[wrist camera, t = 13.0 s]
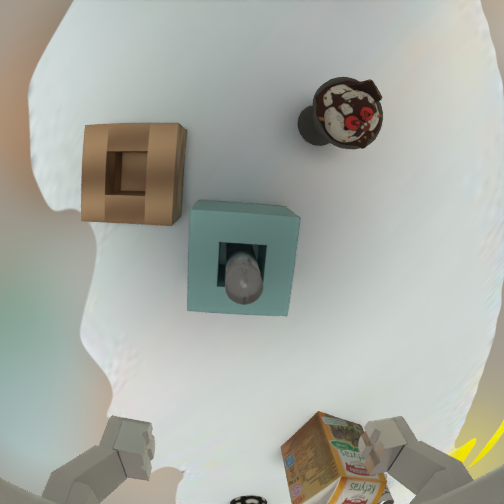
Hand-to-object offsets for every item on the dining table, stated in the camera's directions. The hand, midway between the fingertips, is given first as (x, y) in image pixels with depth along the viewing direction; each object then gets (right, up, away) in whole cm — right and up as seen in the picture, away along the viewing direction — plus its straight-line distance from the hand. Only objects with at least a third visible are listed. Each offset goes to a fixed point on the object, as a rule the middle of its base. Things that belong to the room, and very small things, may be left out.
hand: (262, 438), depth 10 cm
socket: (-13, +16, +24) cm, 32 cm away
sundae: (+7, +22, +24) cm, 33 cm away
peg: (-2, +7, +26) cm, 27 cm away
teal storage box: (-2, +8, +27) cm, 28 cm away
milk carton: (+12, -26, +38) cm, 48 cm away
